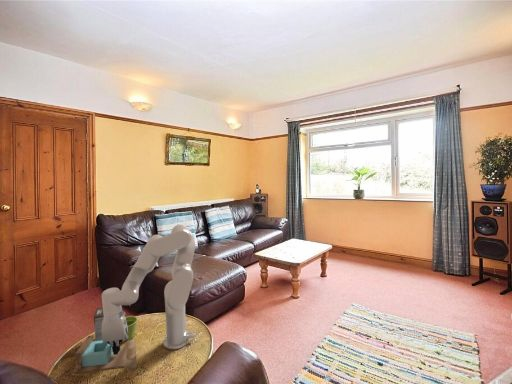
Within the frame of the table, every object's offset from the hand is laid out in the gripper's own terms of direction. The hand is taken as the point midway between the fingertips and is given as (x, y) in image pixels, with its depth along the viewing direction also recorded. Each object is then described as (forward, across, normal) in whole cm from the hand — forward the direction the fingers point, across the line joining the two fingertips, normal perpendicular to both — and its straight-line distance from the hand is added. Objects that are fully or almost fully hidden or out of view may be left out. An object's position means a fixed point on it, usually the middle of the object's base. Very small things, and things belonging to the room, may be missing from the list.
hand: (116, 352), depth 120 cm
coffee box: (+2, +11, -14) cm, 18 cm away
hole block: (+2, +7, 0) cm, 8 cm away
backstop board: (+2, +4, 0) cm, 5 cm away
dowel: (+3, -9, +8) cm, 12 cm away
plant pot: (+3, 0, -15) cm, 15 cm away
